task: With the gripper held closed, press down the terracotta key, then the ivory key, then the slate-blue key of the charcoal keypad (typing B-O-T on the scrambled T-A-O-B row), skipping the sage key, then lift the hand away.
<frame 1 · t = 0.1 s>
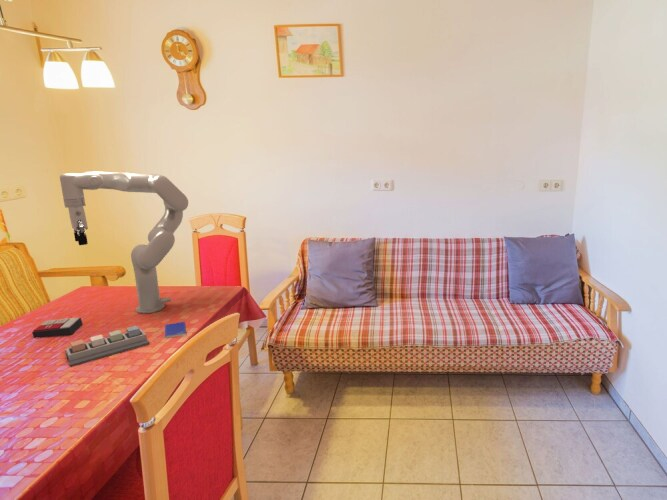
hand: (81, 242, 183), 37 cm above the table, tool pointing down, fingers open, 9 cm apart
keypad: (108, 348, 167), on the table
calculator: (59, 332, 184), on the table
key B: (77, 345, 160), point 4 cm above the table, slide at 0.0 cm
key A: (115, 335, 168), point 4 cm above the table, slide at 0.0 cm
key O: (97, 340, 164), point 4 cm above the table, slide at 0.0 cm
hard drive: (175, 332, 182), on the table
key T: (133, 331, 172), point 4 cm above the table, slide at 0.0 cm
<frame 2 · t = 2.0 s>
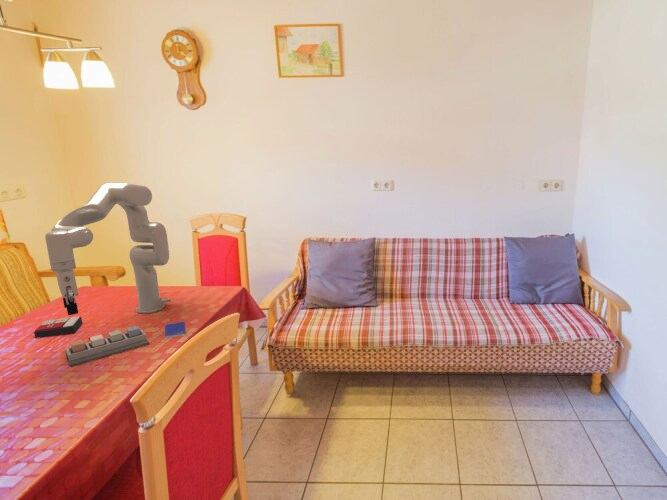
hand: (71, 310, 157), 18 cm above the table, tool pointing down, fingers open, 8 cm apart
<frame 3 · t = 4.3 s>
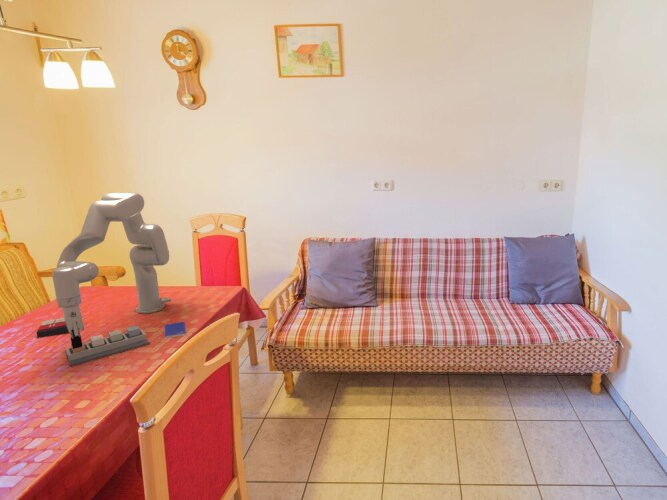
hand: (77, 346, 160), 4 cm above the table, tool pointing down, fingers closed
key B: (78, 349, 161), point 3 cm above the table, slide at 1.5 cm, touching gripper
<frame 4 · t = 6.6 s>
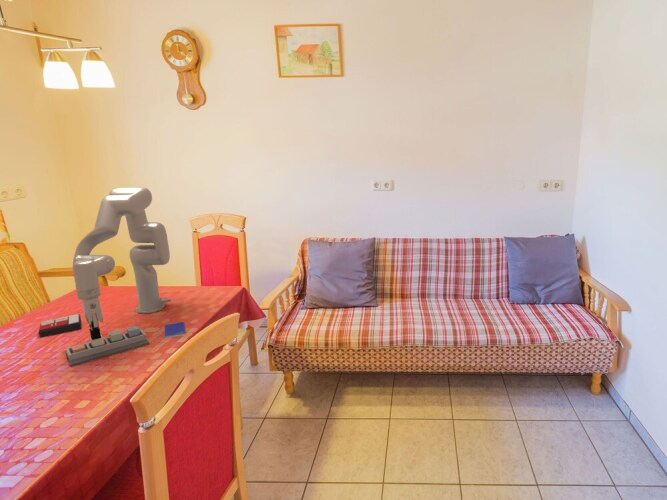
hand: (96, 338, 164), 5 cm above the table, tool pointing down, fingers closed
key B: (78, 350, 161), point 3 cm above the table, slide at 1.7 cm
key O: (97, 340, 164), point 4 cm above the table, slide at 0.1 cm, touching gripper
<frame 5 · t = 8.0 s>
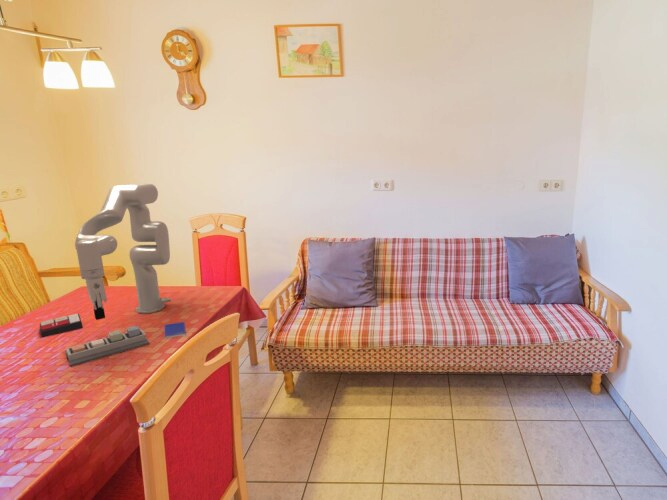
hand: (100, 318, 164), 13 cm above the table, tool pointing down, fingers closed
key O: (97, 344, 165), point 2 cm above the table, slide at 1.8 cm
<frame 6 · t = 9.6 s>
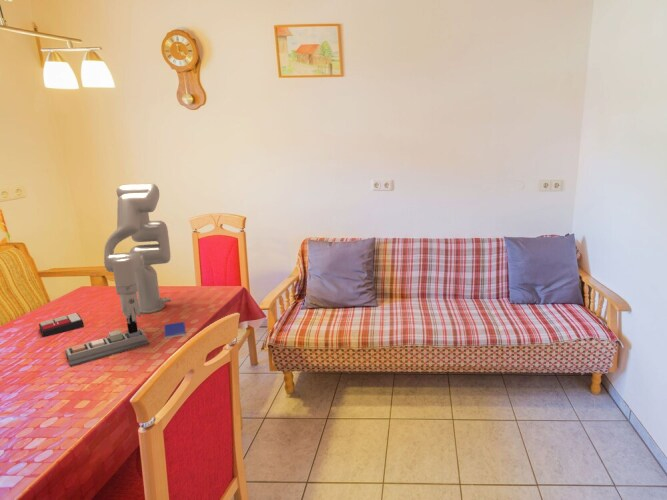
hand: (133, 331, 172), 4 cm above the table, tool pointing down, fingers closed
key T: (133, 334, 172), point 3 cm above the table, slide at 1.5 cm, touching gripper
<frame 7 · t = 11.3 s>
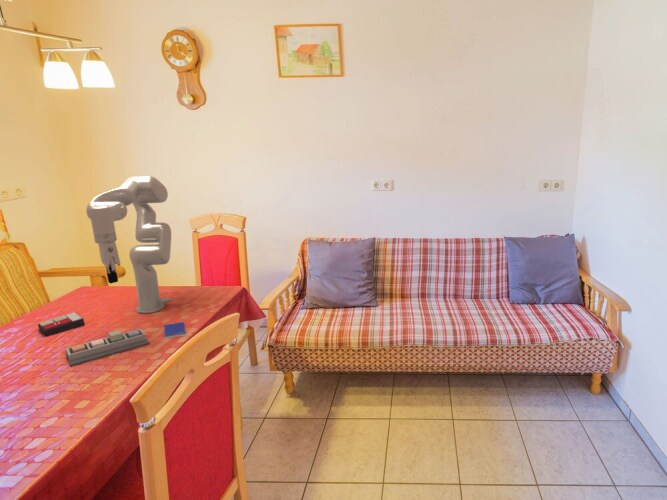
hand: (113, 282, 170), 24 cm above the table, tool pointing down, fingers closed
key T: (133, 335, 172), point 2 cm above the table, slide at 1.8 cm
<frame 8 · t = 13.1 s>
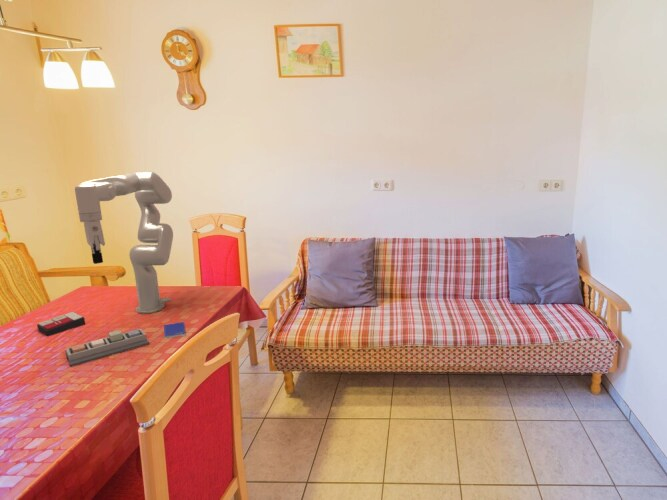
hand: (98, 262, 169), 32 cm above the table, tool pointing down, fingers closed
at the end: key B slide at 1.7 cm; key O slide at 1.8 cm; key T slide at 1.8 cm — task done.
